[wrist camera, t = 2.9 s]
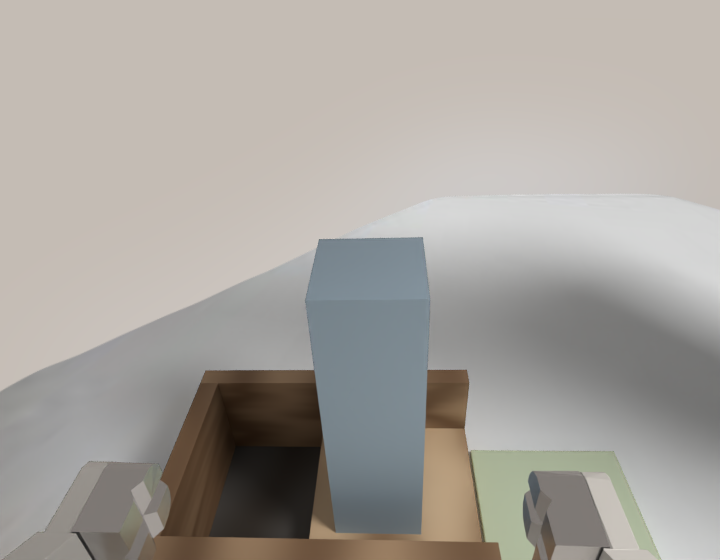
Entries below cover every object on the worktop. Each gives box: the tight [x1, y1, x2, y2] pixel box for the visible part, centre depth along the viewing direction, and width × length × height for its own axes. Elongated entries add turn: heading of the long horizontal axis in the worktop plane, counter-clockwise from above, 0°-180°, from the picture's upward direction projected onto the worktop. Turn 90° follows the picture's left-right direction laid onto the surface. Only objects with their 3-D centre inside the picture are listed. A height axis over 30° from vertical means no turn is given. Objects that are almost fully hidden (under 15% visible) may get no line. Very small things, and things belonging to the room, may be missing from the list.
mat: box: [471, 450, 661, 560], centre depth 32 cm, size 10×10×1 cm
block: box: [305, 237, 430, 534], centre depth 27 cm, size 5×5×17 cm
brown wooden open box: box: [152, 370, 501, 560], centre depth 31 cm, size 18×13×7 cm
